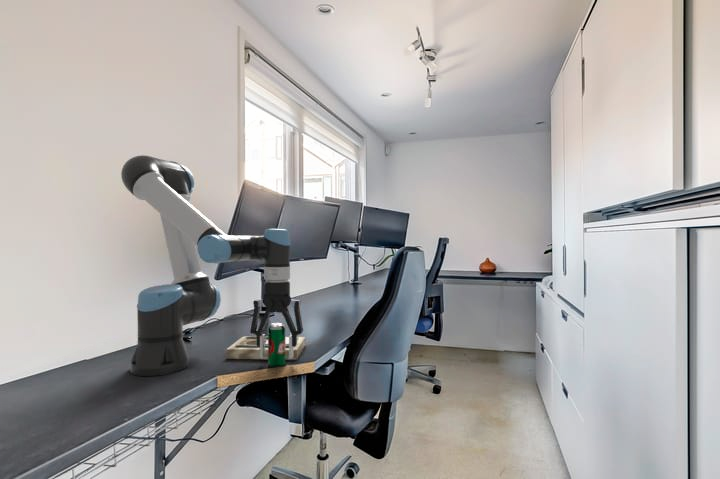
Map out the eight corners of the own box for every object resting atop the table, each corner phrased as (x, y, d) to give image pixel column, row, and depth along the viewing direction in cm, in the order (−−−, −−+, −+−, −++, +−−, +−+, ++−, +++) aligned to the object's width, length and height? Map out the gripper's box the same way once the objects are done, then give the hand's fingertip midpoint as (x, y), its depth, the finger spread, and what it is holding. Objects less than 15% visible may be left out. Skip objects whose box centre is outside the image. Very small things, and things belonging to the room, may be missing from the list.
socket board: (226, 358, 122) (226, 347, 122) (243, 344, 138) (243, 334, 138) (296, 359, 121) (296, 348, 121) (305, 345, 137) (305, 335, 137)
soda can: (281, 368, 114) (281, 326, 114) (265, 366, 115) (265, 325, 115) (288, 362, 119) (288, 323, 118) (272, 361, 120) (272, 322, 119)
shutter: (264, 346, 125) (264, 334, 125) (271, 338, 134) (271, 327, 134) (292, 346, 125) (292, 334, 125) (297, 339, 134) (297, 328, 134)
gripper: (238, 281, 113) (238, 360, 113) (309, 282, 112) (309, 361, 112) (246, 279, 121) (246, 353, 121) (313, 279, 120) (313, 353, 120)
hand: (276, 357), depth 117 cm, fingers open, 8 cm apart
